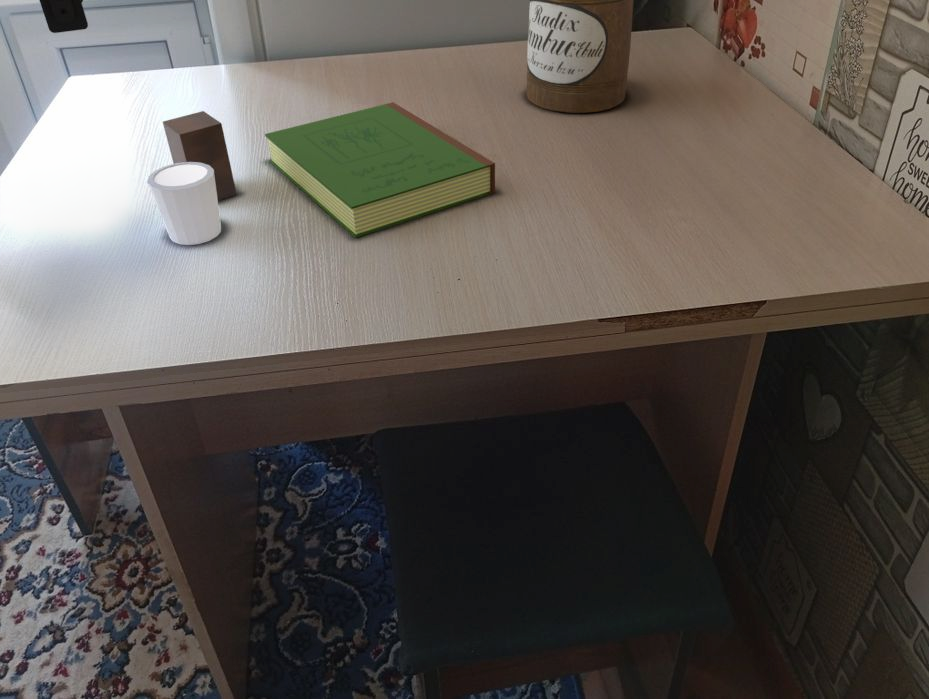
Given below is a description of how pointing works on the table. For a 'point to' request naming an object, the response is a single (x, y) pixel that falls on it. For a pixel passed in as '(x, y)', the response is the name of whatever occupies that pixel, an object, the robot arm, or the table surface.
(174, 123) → the walnut block
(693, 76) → the table surface
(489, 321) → the table surface
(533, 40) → the wooden container
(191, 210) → the white cup
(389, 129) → the hardcover book
